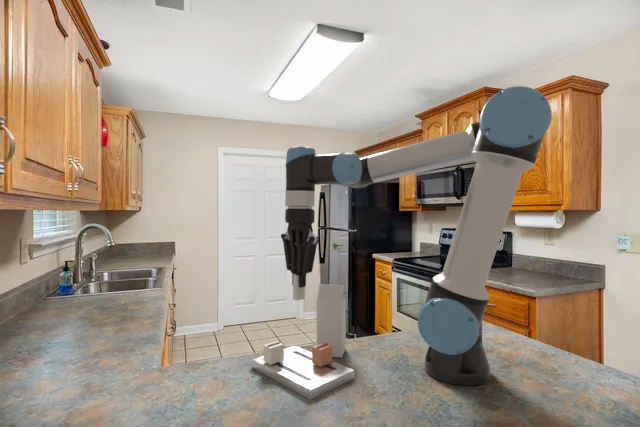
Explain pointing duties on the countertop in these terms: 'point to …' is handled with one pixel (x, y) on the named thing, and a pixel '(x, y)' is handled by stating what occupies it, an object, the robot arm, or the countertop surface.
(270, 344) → the block
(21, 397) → the countertop surface
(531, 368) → the countertop surface
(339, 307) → the milk carton
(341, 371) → the console
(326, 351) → the fader
